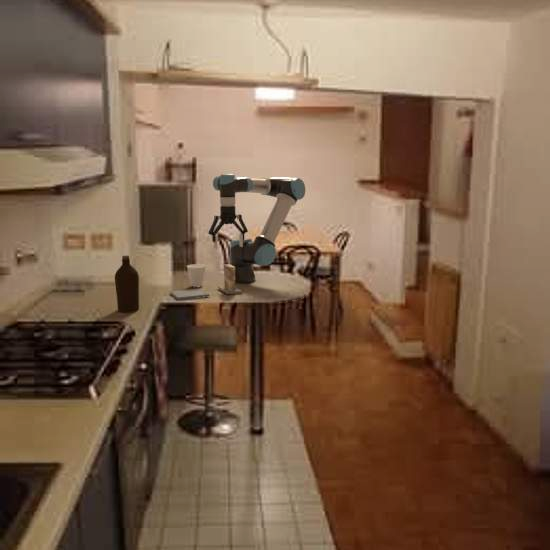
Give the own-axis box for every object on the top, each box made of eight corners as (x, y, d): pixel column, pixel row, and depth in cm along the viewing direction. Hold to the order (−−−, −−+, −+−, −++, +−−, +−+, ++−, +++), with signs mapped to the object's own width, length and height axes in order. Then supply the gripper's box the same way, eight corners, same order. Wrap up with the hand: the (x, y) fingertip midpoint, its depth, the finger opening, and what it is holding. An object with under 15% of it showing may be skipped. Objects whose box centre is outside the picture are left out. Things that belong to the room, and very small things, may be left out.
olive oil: (137, 313, 277) (134, 258, 272) (113, 313, 277) (110, 258, 272) (142, 307, 287) (140, 254, 282) (120, 306, 288) (117, 253, 282)
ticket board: (201, 290, 318) (200, 287, 318) (209, 297, 306) (209, 293, 305) (170, 294, 312) (170, 290, 311) (177, 300, 299) (177, 297, 299)
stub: (232, 287, 325) (232, 262, 322) (242, 293, 312) (241, 267, 310) (218, 288, 322) (217, 263, 319) (227, 294, 309) (226, 268, 306)
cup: (207, 284, 333) (207, 264, 330) (203, 288, 323) (203, 268, 321) (189, 284, 334) (189, 264, 331) (185, 288, 324) (184, 267, 322)
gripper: (248, 203, 316) (248, 244, 321) (201, 205, 306) (202, 248, 311) (253, 205, 310) (254, 246, 314) (206, 207, 300) (207, 250, 304)
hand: (228, 247), depth 312 cm, fingers open, 13 cm apart
